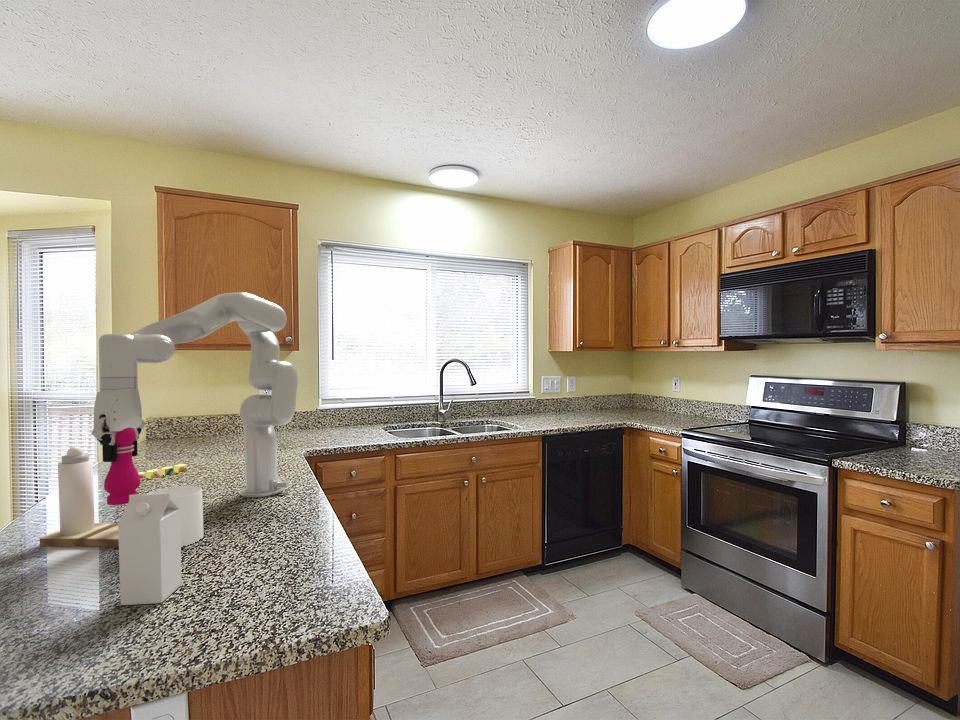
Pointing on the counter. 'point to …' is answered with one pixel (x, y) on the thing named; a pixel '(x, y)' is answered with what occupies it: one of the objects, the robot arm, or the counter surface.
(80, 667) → the counter surface
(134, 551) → the milk carton
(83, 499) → the salt mill
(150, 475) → the stock cubes
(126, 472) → the pepper mill
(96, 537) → the wooden divided tray
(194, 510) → the cup
